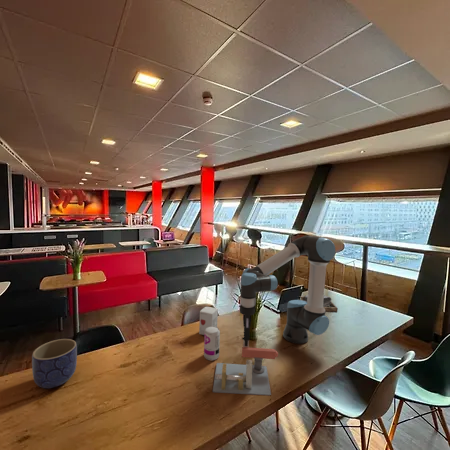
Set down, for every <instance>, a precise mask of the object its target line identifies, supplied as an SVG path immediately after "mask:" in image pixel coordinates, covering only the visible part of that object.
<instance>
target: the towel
mask: <svg viewBox="0 0 450 450" xmlns="http://www.w3.org/2000/svg"><path fill="white" fill-rule="evenodd" d="M303 297H304V299H305V300H304V301H305V302H307V297H308V294H306V295H303ZM331 302H332V298H331V297H330V296H328V295H325V294H324V299H323V307H330V305H331Z"/></svg>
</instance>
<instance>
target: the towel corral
mask: <svg viewBox="0 0 450 450" xmlns="http://www.w3.org/2000/svg"><path fill="white" fill-rule="evenodd" d="M300 297H301V300H302V301H305V299H304V296H300ZM323 308H324V309H325V312H333V311H336V312H338V307H337V306H336V305H335V304H334V303H333V301H331V305H329V306H327V307H323ZM336 312H335V313H336Z"/></svg>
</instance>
